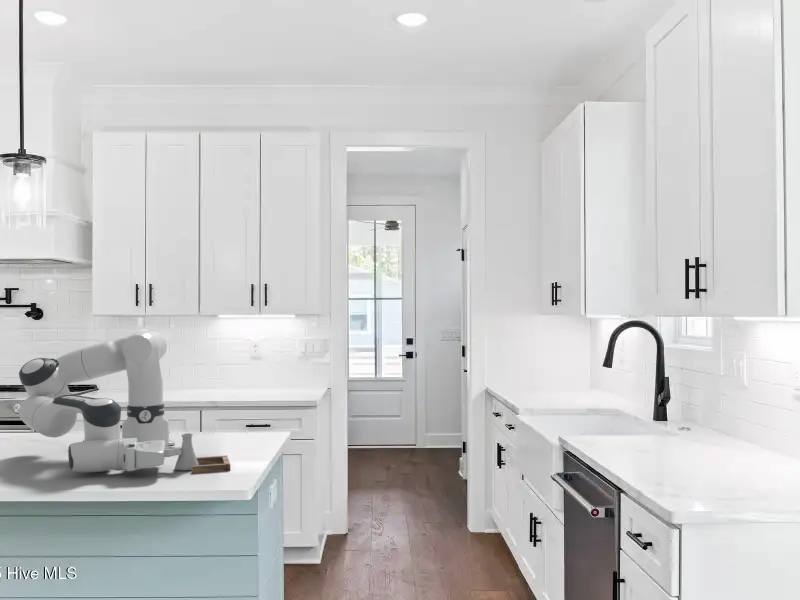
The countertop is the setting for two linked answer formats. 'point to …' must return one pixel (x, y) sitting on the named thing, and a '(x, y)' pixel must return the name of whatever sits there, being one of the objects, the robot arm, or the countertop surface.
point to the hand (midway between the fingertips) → (181, 450)
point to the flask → (186, 454)
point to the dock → (211, 467)
